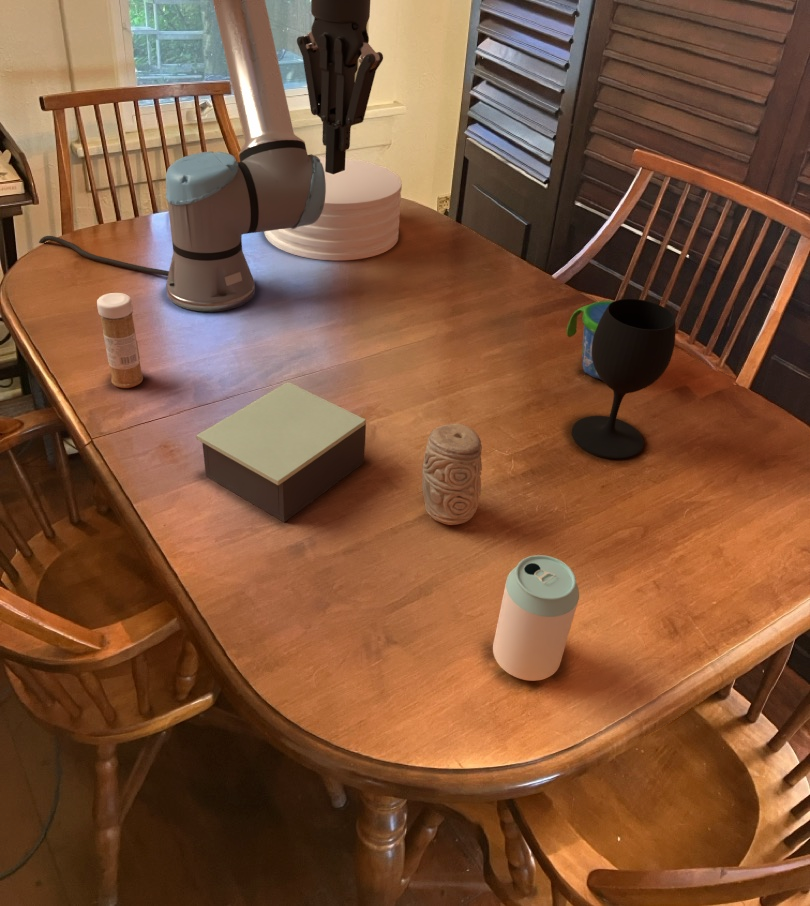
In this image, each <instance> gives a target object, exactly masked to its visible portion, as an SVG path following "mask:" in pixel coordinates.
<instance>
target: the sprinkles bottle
mask: <svg viewBox="0 0 810 906" xmlns="http://www.w3.org/2000/svg"><path fill="white" fill-rule="evenodd" d="M96 306H97V312H98V314H99V317H100V321H101V326H102V334H103V340H104V345H105V352H106V357H107V361H108V366H109V370H110V375H111V380H110V381H111V384H112V385H113V386H115V387H117V388H121V389H131V388H134V387H136V386H138V385H140V384H141V383H142V382H143V380H144V376H143V373H142V367H141V360H140V359H141V357H140V352H139V344H138V340H137V334H136V328H135V323H134V319H133V318H134V317H133V313H134V311H133V310H134V308H133V302H132V298H131V297H130V295H128V294H125V293H122V292H110V293H105V294H103V295H100V296H99V298H97V300H96Z"/></svg>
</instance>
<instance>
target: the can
mask: <svg viewBox="0 0 810 906" xmlns="http://www.w3.org/2000/svg"><path fill="white" fill-rule="evenodd" d="M579 600H580V588H579V585H578V584H577V577H576V574H575V573H574V571H573V569H572V568H571V567H570V566H569V565H568V564H566V563H565V562H564V561H562V560H561V559H559V558H556V557H554V556H550V555H545V554H535V555H530V556H526V557H524V558H522V559H521V560H520V561H519V562H518V563H517V565H516V566H515V567H514V568H513V569H511V570H510V572H509V573H508V575H507V577H506V581H505V585H504V591H503V595H502V598H501V604H500V610H499V615H498V620H497V624H496V629H495V630H496V631H495V634H494V639H493V643H492V654H493V657H494V659H495V661H496V662H497V665H499V667H500V668H501V669H502V670H503V671H505V673H507V674H509V675H511V676H513V677H514V678H517V679H520V680H524V681H530V682H531V681H541V680H545V679H547V678H550V677H552V676H553V675H554V674H555V673H556V672H557V671H558V669H559V668H560V665H561V662H562V658H563V655H564V651H565V649H566V645H567V643H568V642H567V641H568V639H569V635H570V631H571V628H572V624H573V621H574V618H575V614H576V610H577V608H578V607H577V606H578V603H579Z"/></svg>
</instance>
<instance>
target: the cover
mask: <svg viewBox="0 0 810 906" xmlns="http://www.w3.org/2000/svg"><path fill="white" fill-rule="evenodd" d="M365 424H366V425H367V419H365V418H364V417H362V416H360V415H357V414H355V413H353V412H351V411H349V410H348V409H345V408H343V407H341V406H339V405H337V404H335V403H333V402H331V401H329V400H326V399H324V398H322V397H320V396H318V395H316V394H314V393H313V392H310V391H308V390H306V389H304V388H302V387H300V386H298V385H296V384H293V383H291V382H290V381H286V382H285V383H283V384H281V385H280V386H277V387H276V388H275V389H273V390H271V391H269V392H268V393H265V394H264V395H262V396H261V397H259V398H257V399H256V400H255V401H252V402H250V403H249V404H247V405H245V406H244V407H241V408H240V409H239V410H237V411H236V412H233V413H232V414H230V415H228V416H227V417H225V418H223V419H221V420H220V421H218V422H216V423H214V424H213V425H211V426H209V427H208V428H205V430H202V431H201V432H199V433H198V434H196V441H199V442H200V443H201V444H202V443H204V444H206V445H208V446H209V447H211V448H213V449H215V450H216V451H218V452H220V453H222V454H223V455H225V456H227V457H229V458H231V459H232V460H234V461H236V462H238V463H239V464H241V465H243V466H245V467H246V468H248V469H250V470H252V471H254V472H255V473H257V474H259V475H261V476H262V477H264V478H266V479H268V480H269V481H271V482H273V483H275V484H277V485H280V484H281V483H283V482H284V481H285V480H287V479H288V478H290V477H291V476H293V475H294V474H295V473H297V472H298V471H300V470H301V469H302V468H304V467H305V466H307V465H308V464H310V463H311V462H312V461H314V460H315V459H317V458H318V457H320V456H321V455H322V454H324V453H325V452H327V451H328V450H329V449H331V448H332V447H334V446H335V445H337V444H338V443H339V442H341V441H342V440H344V439H345V438H347V437H348V436H349V435H351V434H352V433H354V432H355V431H356V430H358V429H359V428H361V427H362V426H364V425H365Z"/></svg>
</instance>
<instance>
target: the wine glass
mask: <svg viewBox="0 0 810 906" xmlns="http://www.w3.org/2000/svg"><path fill="white" fill-rule="evenodd" d="M613 301H614V302H612V303H610V304H609V306H608V307H607V309H606V310H605V312H604V314H603V315H602V317H601V319H600V321H599V323H598V326H597V328H596V331H595V334H594V337H593V342H592V360H593V364H594V367H595V369H596V371H597V373H598V375H599V377H600V378H601V379H602V380H603V381H602V380H601V381H602V382H603V383H604V384H605V385H606V386H607V387H609V388H610V389H611V390H612V391H613V400H612V405H611V409H610V413H609V416H606V415H588V416H585V417H582V418H580V419H578V420H577V421H576V422H574V424H573V425H572V427H571V437H572V439H573V441H574V442H575V444H576V445H577V446H578V447H579V448H580V449H582V450H583V451H585V452H586V453H589V454H591V455H592V456H595V457H597V458H600V459H606V460H613V461H621V460H628V459H632V458H634V457H636V456H638V455H639V454H640V453H642V450H643V449H644V444H645V443H644V442H645V441H644V438H643V436H642V434H641V433H640V432H639V431H638V429H636V428H635V427H634V426H633V425H632V424H630V423H628V422H626V421H624V420H622V419H618V418H617V416H618V414H619V410H620V406H621V404H622V402H623V399H624V397H625V396H626V394H631V393H635V392H639V391H642V390H643V389H645V388H647V387H650V386H651V385H653V384H654V383H655V382H657V381H658V380H659V379H660V378H661V376H662V375H663V374H664V373H665V371H666V370H667V369H668V366H669V365H670V362H671V360H672V356H673V354H674V349H675V343H676V334H677V333H676V331H677V330H676V329H677V328H676V326H677V325H676V318H675V315H674V314H673V313H672V311H670V310H669V309H667V308H666V307H665V306H662V305H660V304H658V303H655V302H653V301H649V300H644V299H639V298H621V299H617V300H616V299H615V300H613Z"/></svg>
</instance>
